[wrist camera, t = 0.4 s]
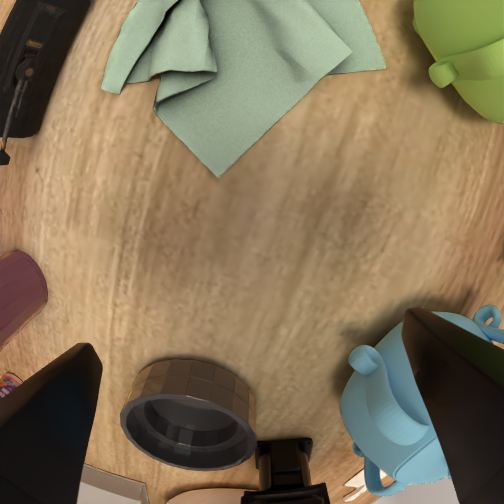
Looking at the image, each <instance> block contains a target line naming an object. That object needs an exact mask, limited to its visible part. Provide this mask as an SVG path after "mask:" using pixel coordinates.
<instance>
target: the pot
mask: <svg viewBox="0 0 504 504" xmlns="http://www.w3.org/2000/svg"><path fill="white" fill-rule="evenodd" d="M244 491H248V490H246V489H230V488H214V489H200V490H192V491H188V492H184V493H181V494H179V495H177V496H175V497H174V498H172V499H170V500H169V501H168V502H167V503H166V504H241V497H242V496H244ZM249 491H256V490H249Z"/></svg>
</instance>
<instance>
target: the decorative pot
mask: <svg viewBox="0 0 504 504" xmlns="http://www.w3.org/2000/svg"><path fill="white" fill-rule="evenodd" d="M432 313H434V314H436V315H438V316H440V317H442V318H444V319H446V320H448V321H450V322H452V323H454V324H456V325H458V326H460V327H462V328H464V329H466V330H467V331H469V332H471V333H473V334H475V335H477V336H479V337H481V338H483V339H485V340H487V341H489V342H490V343H492V341H491V340H493V341H496V342H499V343H503V344H504V330H502V329H499V328H498V327H499V326H500V323H501V314H500V311H499V310H498V309H497V307H495V306H493V305H485V306H483V307H481V308H480V309H479V310H478V311H477V312H476V313H475V315H474V317H473V320H471V319H469V318H467V317H464V316H462V315H459V314H455V313H450V312H435V311H433V312H432ZM491 317H493V321H492V322H491V323H490V324H489V326H488V325H485V322H486V321H487V320H488V319H489V318H491ZM402 326H403V321H402V322H400V323H399V324H398V325H397V326H395V327H394V328H393V329H392V330H391V331H390V332H389V333H388V334H387V335H386V336H385V337H384V338H383V339H382V340H381V341H380V342H379V343H378V344H377V345H376V346H375V347H374V348H372V347H371V346H368V345H361V346H358V347H357V348H355V349H354V350H353V351H352V352H351V354H350V356H349V364H350V365H351V366H352V367H353V369H355V371H354V373H353V374H352V376H351V377H350V379H349V381H348V383H347V385H346V387H345V389H344V391H343V394H342V396H341V401H340V413H341V416H342V419H343V422H344V424H345V426H346V428H347V430H348V432H349V434H350V436H351V438H352V439H353V441H354V442H353V450H354V452H355V454H357V455H358V456H360V457H365V460H364V480H365V485H366V487H367V489H368V491H369V492H371V493H372V494H374V495H377V496H391V495H394V494H397V493H399V492H400V491H402V490H403V489H404V488H406V487H407V485H408V484H425V483H430V482H434V481H437V480H441V479H443V478H445V477H449V479H452V478H451V475H450V472H449V469H448V466H447V463H446V460H445V457H444V454H443V451H442V449H441V446H440V443H439V440H438V438H437V435H436V432H435V430H434V427H433V424H432V422H431V419H430V417H429V414H428V412H427V409H426V407H425V404H424V402H423V399H422V397H421V395H420V392H419V390H418V387H417V385H416V382H415V379H414V376H413V373H412V369H411V366H410V363H409V360H408V357H407V354H406V350H405V347H404V344H403V341H402V337H401V331H402ZM492 344H493V343H492ZM380 469H381V470H382V471H384V472H385V473H386V474H387V475H389V476H390V477H392V478H393V479H395V481H394V482H393V483H392V484H391V485H389V486H387V487H383V485H382V483H381V478H380Z"/></svg>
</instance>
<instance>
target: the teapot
mask: <svg viewBox="0 0 504 504" xmlns="http://www.w3.org/2000/svg"><path fill="white" fill-rule="evenodd" d="M413 7H414V16H415V17H414V19H413V27H414V29H415V31H416V33H417V34H418V35H419V36H420V37H421V38H422V39H423V41H424V43H425V45H426V46H427V48H428V50H429V51H430V53H431V54H432V56H433V58H434V59H435V61H436V62H435V63H434V64H433V65H431V66H430V67H429V75H430V78H431V80H432V82H433V83H434V84H435V85H436V86H438V87H439V88H443V87H445V86H447V85H448V84H450V83H451V84H452V85H453V86H454V88H455V89H456V90H457V92H458V93H459V94H460V96H461V97H462V99H463V100H464V101H465V102H466V103H467V104H469V105H470V106H471V107H472V108H473V109H474V110H475V111H476V112H477V113H479V114H480V115H481V116H483V117H484V118H486V119H488V120H490V121H493V122H495V123H500V124H504V0H414V4H413Z"/></svg>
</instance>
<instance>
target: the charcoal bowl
mask: <svg viewBox="0 0 504 504" xmlns="http://www.w3.org/2000/svg"><path fill="white" fill-rule="evenodd" d="M120 421H121V427H122V429H123V431H124V433H125V435H126V437H127V438H128V439H129V440H130V441H131V442H132V443H133V444H134V445H135V446H136V447H137V448H138V449H139V450H141V451H142V452H144V453H145V454H147V455H148V456H150V457H152V458H153V459H156V460H158V461H160V462H163V463H165V464H167V465H170V466H174V467H178V468H182V469H186V470H195V471H216V470H224V469H228V468H231V467H234V466H237V465H240V464H241V463H243V462H244V461H246V460H247V459H249V458H250V457H251V456H252V454H253V452H254V451H255V449H256V448H257V410H256V399H255V397H254V396H253V394H252V392H251V390H250V388H249V387H248V386H247V385H246V384H245V383H243V382H242V381H241V380H240V379H239V378H238V377H237V376H236V375H234V374H232V373H230V372H228V371H226V370H224V369H222V368H220V367H218V366H215V365H212V364H208V363H204V362H200V361H197V360H183V359H170V360H166V361H161V362H156V363H153V364H151V365H150V366H148V367H147V368H145V369H143V370H142V371H141V372H140V373H139V375H138V376H137V378H136V380H135V381H134V383H133V385H132V388H131V390H130V392H129V394H128V397H127V399H126V401H125V404H124V406H123V408H122V411H121V413H120Z"/></svg>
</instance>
